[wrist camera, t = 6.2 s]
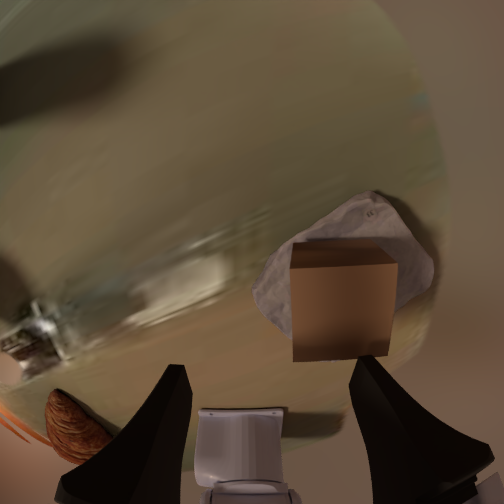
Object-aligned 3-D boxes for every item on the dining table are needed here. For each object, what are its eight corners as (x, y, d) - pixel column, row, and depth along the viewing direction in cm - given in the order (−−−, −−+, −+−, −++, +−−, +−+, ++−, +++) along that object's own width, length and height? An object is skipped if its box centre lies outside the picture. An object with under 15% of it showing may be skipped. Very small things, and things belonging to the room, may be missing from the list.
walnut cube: (296, 314, 17) (293, 361, 12) (293, 242, 16) (289, 269, 11) (367, 310, 16) (387, 355, 11) (370, 239, 15) (397, 263, 10)
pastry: (30, 399, 31) (15, 431, 24) (58, 384, 28) (37, 427, 20) (100, 448, 37) (91, 480, 30) (145, 443, 34) (137, 484, 27)
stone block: (240, 275, 22) (324, 347, 23) (229, 302, 18) (331, 383, 19) (347, 164, 19) (425, 255, 20) (366, 162, 14) (453, 275, 15)
